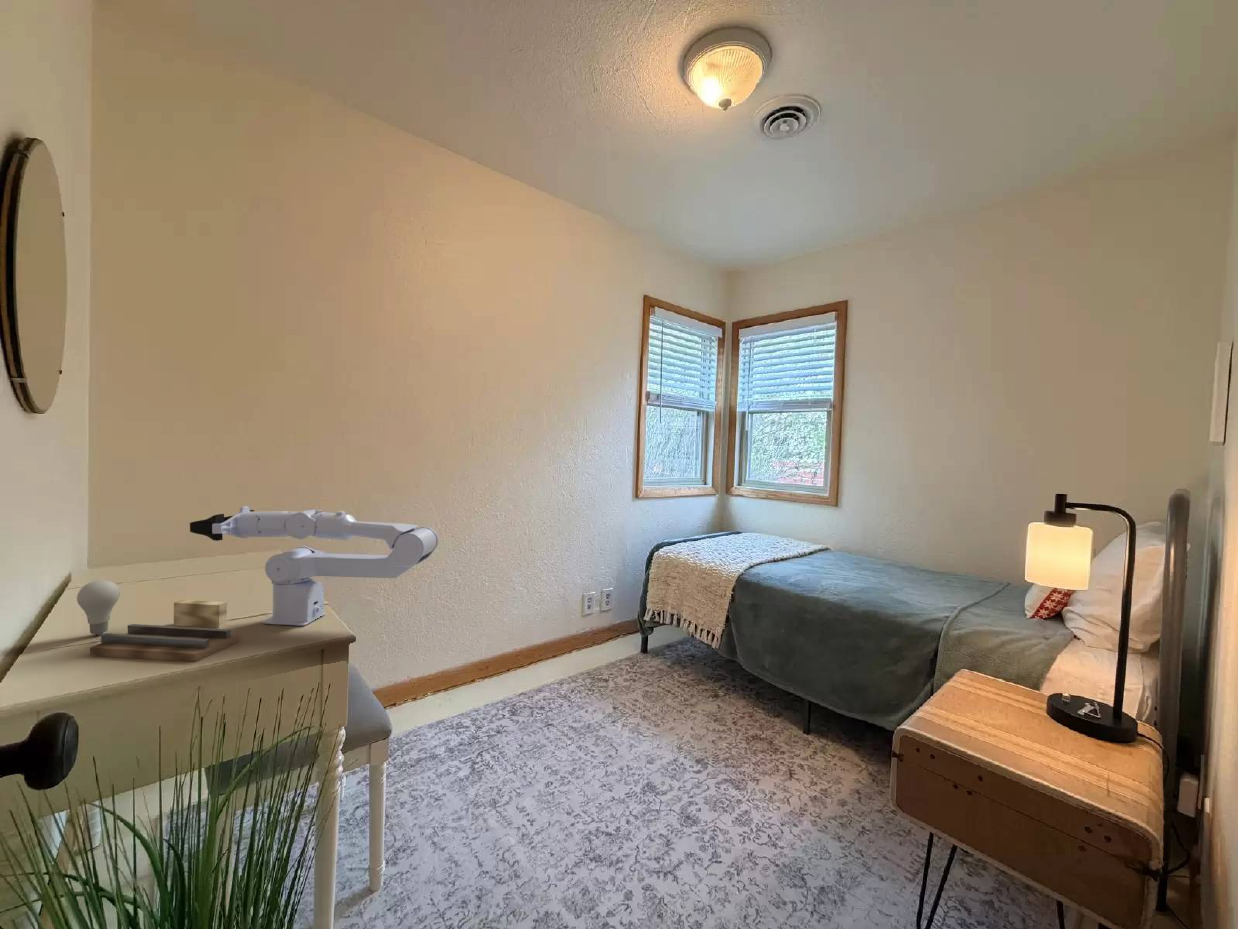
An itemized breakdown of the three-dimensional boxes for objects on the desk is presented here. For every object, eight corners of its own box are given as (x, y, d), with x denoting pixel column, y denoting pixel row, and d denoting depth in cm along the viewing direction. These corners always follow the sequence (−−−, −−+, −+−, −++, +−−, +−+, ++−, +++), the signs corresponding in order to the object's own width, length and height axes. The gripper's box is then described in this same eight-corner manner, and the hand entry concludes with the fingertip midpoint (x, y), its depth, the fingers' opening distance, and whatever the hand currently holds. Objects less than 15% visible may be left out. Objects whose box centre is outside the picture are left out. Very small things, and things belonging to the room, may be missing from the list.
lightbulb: (92, 642, 100) (92, 586, 100) (68, 638, 102) (68, 583, 101) (128, 631, 106) (128, 578, 106) (104, 628, 108) (104, 575, 107)
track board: (238, 640, 104) (238, 625, 104) (195, 661, 94) (195, 645, 94) (142, 635, 105) (142, 620, 105) (89, 655, 95) (89, 639, 95)
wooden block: (226, 625, 112) (226, 602, 112) (219, 628, 110) (219, 605, 110) (182, 622, 113) (182, 599, 112) (173, 625, 111) (173, 602, 110)
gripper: (286, 503, 123) (229, 504, 123) (241, 509, 109) (177, 510, 109) (287, 533, 123) (230, 534, 123) (242, 543, 109) (178, 543, 109)
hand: (205, 525), depth 116 cm, fingers open, 7 cm apart
